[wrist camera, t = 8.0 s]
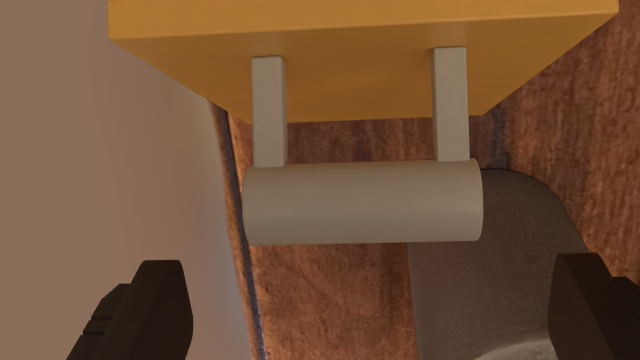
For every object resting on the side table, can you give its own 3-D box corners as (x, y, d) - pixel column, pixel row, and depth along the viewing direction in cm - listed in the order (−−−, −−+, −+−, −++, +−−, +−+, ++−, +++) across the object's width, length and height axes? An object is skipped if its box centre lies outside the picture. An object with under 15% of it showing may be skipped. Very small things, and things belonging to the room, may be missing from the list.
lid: (105, -2, 12) (109, 257, 12) (618, -31, 11) (630, 246, 11) (247, 105, 25) (250, 225, 25) (482, 95, 24) (487, 220, 24)
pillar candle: (603, 214, 35) (750, 430, 22) (501, 324, 39) (573, 560, 26) (463, 138, 33) (530, 323, 20) (373, 262, 38) (379, 481, 24)
